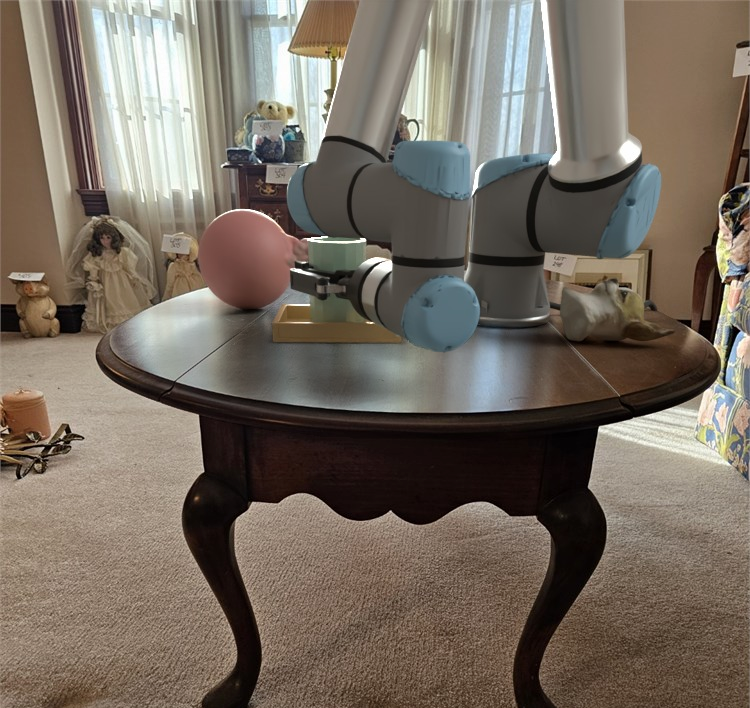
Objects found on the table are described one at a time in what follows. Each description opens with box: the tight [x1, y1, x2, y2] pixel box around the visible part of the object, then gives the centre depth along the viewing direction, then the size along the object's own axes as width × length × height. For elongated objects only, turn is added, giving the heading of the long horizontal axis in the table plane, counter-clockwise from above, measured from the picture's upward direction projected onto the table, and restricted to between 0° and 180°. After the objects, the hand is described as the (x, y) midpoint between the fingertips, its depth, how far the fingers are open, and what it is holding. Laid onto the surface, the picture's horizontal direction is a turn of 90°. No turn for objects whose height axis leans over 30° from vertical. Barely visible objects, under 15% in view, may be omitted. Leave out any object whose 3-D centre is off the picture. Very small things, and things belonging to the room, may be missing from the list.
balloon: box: [197, 208, 309, 310], centre depth 107 cm, size 15×20×15 cm
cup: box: [307, 236, 367, 322], centre depth 93 cm, size 8×8×11 cm
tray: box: [271, 304, 402, 344], centre depth 95 cm, size 18×14×3 cm
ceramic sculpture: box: [559, 277, 676, 342], centre depth 91 cm, size 11×9×15 cm
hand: (326, 269), depth 96 cm, fingers closed on cup, 8 cm apart
